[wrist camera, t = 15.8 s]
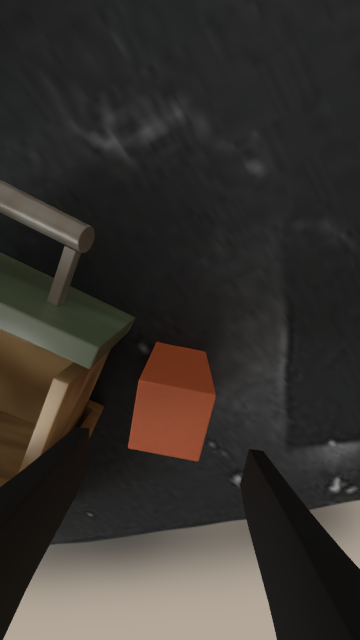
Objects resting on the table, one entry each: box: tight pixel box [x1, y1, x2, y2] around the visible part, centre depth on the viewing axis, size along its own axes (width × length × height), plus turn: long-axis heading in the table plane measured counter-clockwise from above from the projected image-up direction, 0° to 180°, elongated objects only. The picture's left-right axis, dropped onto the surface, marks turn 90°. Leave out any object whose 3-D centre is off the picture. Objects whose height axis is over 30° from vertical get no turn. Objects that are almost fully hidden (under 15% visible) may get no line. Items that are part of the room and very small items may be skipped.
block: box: [128, 342, 216, 461], centre depth 14 cm, size 4×4×6 cm
